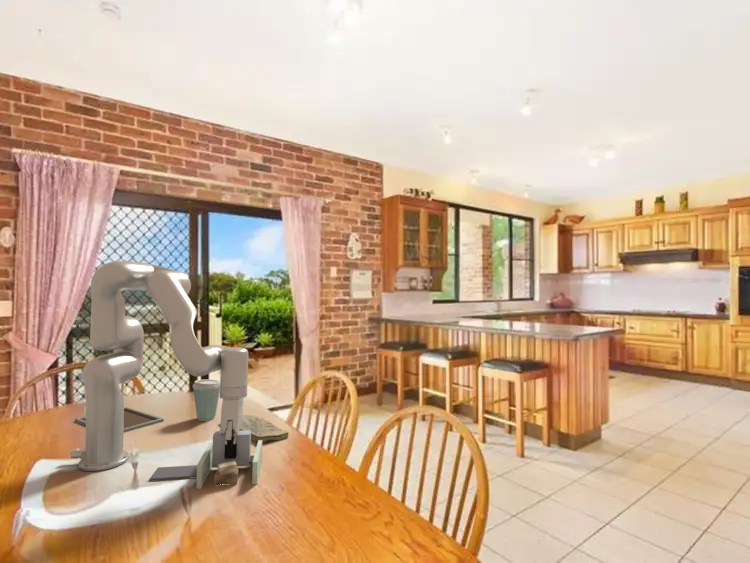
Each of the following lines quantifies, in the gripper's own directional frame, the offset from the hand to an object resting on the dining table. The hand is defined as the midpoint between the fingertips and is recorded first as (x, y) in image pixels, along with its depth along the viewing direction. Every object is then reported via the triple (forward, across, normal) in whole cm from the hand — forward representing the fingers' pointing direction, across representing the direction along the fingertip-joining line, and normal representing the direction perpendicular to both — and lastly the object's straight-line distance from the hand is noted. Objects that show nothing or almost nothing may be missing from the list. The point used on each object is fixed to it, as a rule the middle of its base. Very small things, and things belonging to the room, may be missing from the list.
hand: (231, 454), depth 121 cm
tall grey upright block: (+3, 0, 0) cm, 3 cm away
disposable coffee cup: (+5, -48, -16) cm, 51 cm away
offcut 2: (+4, +8, 0) cm, 9 cm away
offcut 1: (+1, +8, 0) cm, 8 cm away
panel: (+5, +1, -14) cm, 15 cm away
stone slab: (+5, -32, +3) cm, 33 cm away
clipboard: (+6, -50, -49) cm, 71 cm away
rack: (+4, +3, +1) cm, 5 cm away
